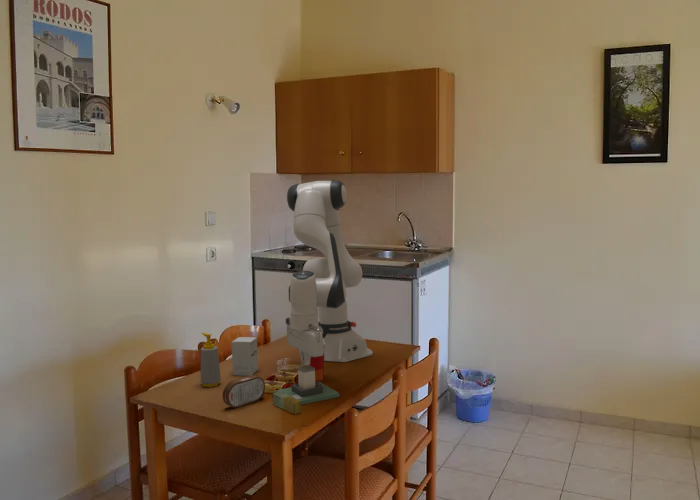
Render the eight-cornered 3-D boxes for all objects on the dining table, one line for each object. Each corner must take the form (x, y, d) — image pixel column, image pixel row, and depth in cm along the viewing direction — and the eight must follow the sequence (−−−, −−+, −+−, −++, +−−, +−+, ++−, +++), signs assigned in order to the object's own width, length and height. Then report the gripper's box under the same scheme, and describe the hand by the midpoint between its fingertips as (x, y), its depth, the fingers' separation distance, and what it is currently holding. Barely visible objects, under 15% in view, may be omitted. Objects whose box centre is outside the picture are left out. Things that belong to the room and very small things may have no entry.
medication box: (272, 405, 201) (271, 392, 200) (279, 402, 202) (278, 390, 202) (294, 415, 192) (294, 402, 191) (302, 412, 193) (301, 400, 193)
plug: (309, 388, 211) (308, 365, 210) (315, 392, 208) (315, 368, 207) (298, 391, 209) (297, 367, 208) (304, 394, 205) (303, 370, 205)
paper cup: (310, 374, 230) (309, 336, 229) (329, 376, 227) (328, 338, 226) (300, 381, 223) (299, 341, 222) (320, 383, 220) (319, 343, 219)
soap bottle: (212, 380, 227) (210, 330, 225) (225, 383, 222) (222, 333, 220) (196, 385, 222) (193, 334, 220) (208, 389, 217) (206, 337, 215)
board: (319, 385, 218) (319, 376, 218) (339, 396, 206) (338, 387, 206) (276, 393, 210) (275, 384, 210) (293, 406, 198) (293, 396, 198)
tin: (261, 396, 208) (260, 371, 208) (267, 398, 206) (266, 373, 205) (222, 409, 198) (221, 382, 197) (228, 411, 196) (227, 384, 195)
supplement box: (251, 376, 230) (250, 341, 229) (232, 375, 232) (230, 341, 230) (258, 370, 237) (257, 336, 236) (239, 369, 239) (238, 336, 238)
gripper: (328, 326, 198) (329, 370, 200) (300, 315, 216) (301, 355, 217) (310, 329, 195) (311, 373, 196) (282, 317, 213) (284, 358, 214)
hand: (305, 364), depth 207 cm, fingers closed
